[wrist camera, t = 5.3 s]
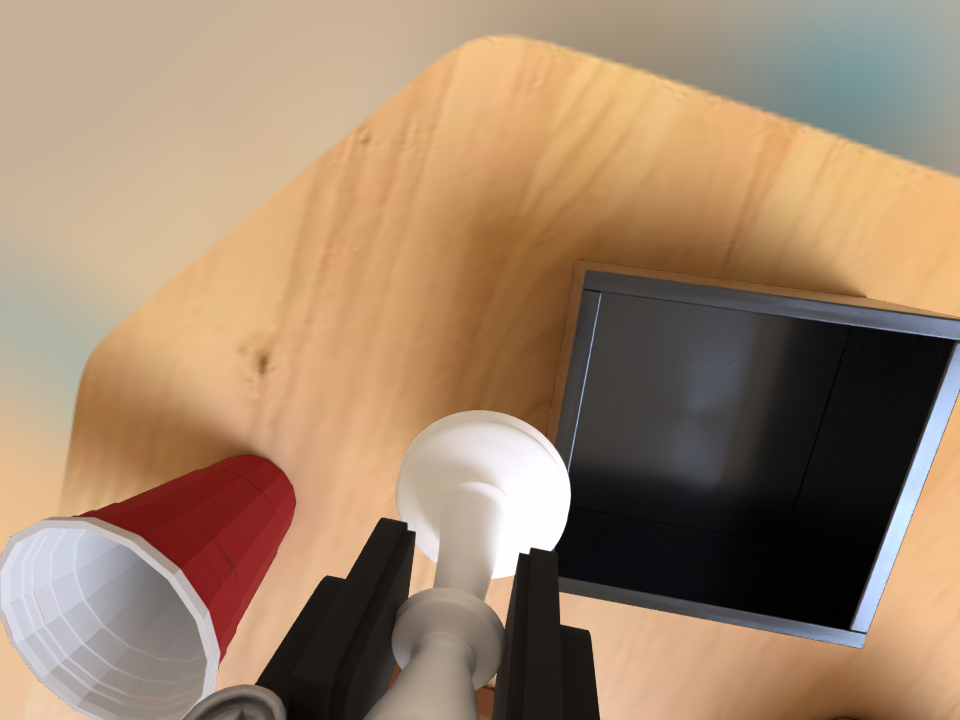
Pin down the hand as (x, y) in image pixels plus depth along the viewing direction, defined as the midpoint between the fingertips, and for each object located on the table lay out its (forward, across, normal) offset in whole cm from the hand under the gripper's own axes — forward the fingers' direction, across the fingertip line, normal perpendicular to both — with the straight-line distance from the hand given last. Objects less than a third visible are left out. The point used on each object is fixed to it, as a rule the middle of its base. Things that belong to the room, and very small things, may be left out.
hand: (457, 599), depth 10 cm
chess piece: (+5, 0, 0) cm, 5 cm away
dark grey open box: (+19, -10, +1) cm, 21 cm away
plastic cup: (+19, +15, +12) cm, 27 cm away
